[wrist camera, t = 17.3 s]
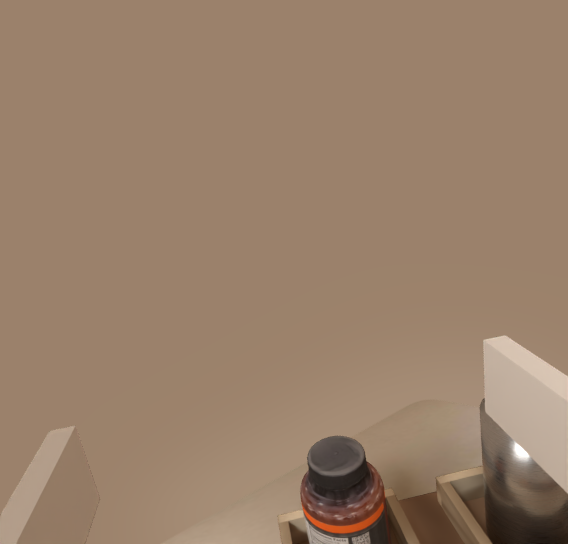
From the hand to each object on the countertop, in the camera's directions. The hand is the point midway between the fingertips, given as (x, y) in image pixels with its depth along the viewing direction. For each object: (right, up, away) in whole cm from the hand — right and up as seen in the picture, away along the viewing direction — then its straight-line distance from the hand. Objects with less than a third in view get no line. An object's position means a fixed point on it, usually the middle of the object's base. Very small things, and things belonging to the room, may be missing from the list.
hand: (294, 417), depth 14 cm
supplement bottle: (+5, -19, +20) cm, 28 cm away
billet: (+19, -16, +21) cm, 32 cm away
